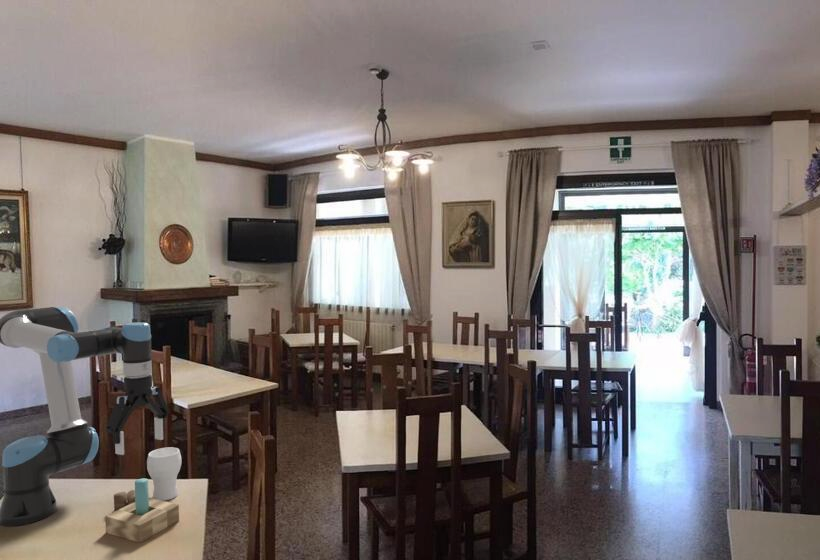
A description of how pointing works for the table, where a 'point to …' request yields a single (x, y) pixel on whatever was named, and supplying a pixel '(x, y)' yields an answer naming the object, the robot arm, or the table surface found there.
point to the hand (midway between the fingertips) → (140, 446)
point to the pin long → (141, 496)
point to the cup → (164, 472)
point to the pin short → (120, 500)
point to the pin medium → (131, 497)
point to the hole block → (142, 520)
